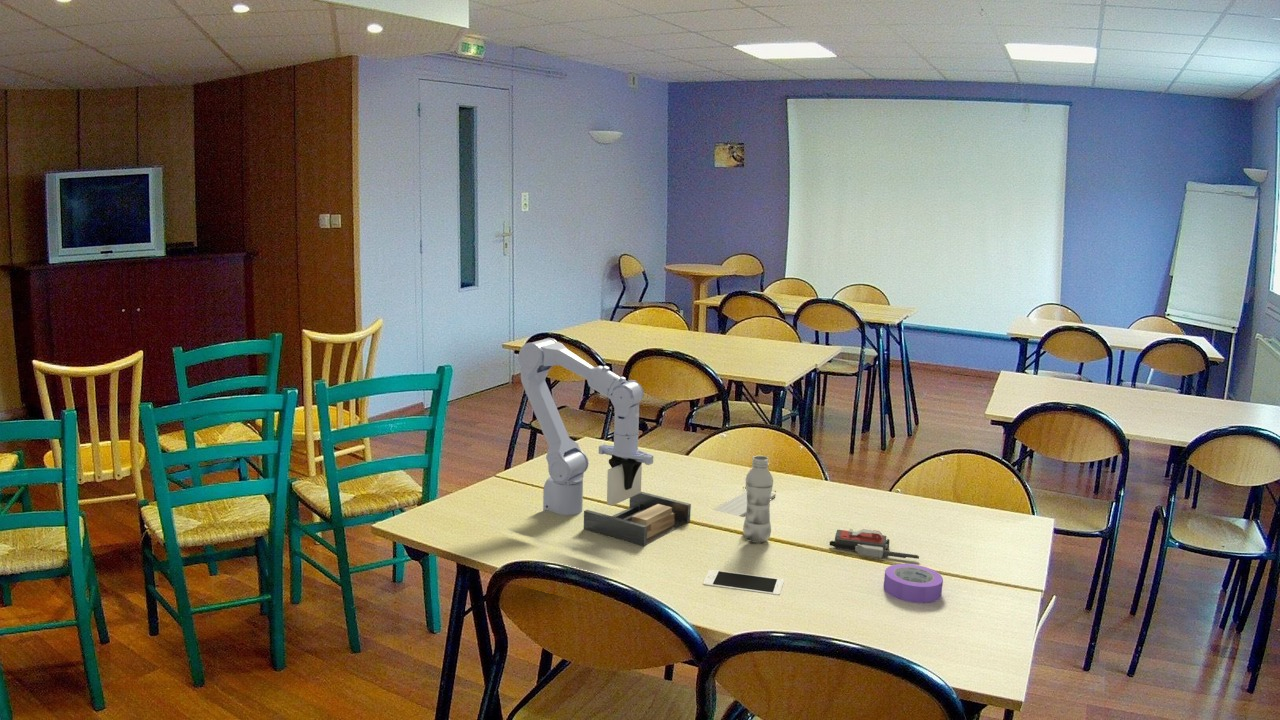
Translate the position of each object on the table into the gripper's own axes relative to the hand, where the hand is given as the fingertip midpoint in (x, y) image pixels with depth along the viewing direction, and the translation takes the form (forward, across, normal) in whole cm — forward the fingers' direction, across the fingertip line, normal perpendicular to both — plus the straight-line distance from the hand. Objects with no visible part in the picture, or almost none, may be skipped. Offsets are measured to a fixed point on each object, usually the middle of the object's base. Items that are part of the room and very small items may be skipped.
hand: (624, 487), depth 235 cm
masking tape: (+10, -68, -7) cm, 70 cm away
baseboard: (+10, -14, -28) cm, 33 cm away
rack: (+10, -4, 0) cm, 10 cm away
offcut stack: (+8, -8, 0) cm, 12 cm away
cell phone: (+10, -38, +11) cm, 41 cm away
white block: (+3, 0, 0) cm, 3 cm away
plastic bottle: (+10, -30, -12) cm, 33 cm away
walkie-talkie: (+10, -54, -24) cm, 60 cm away
